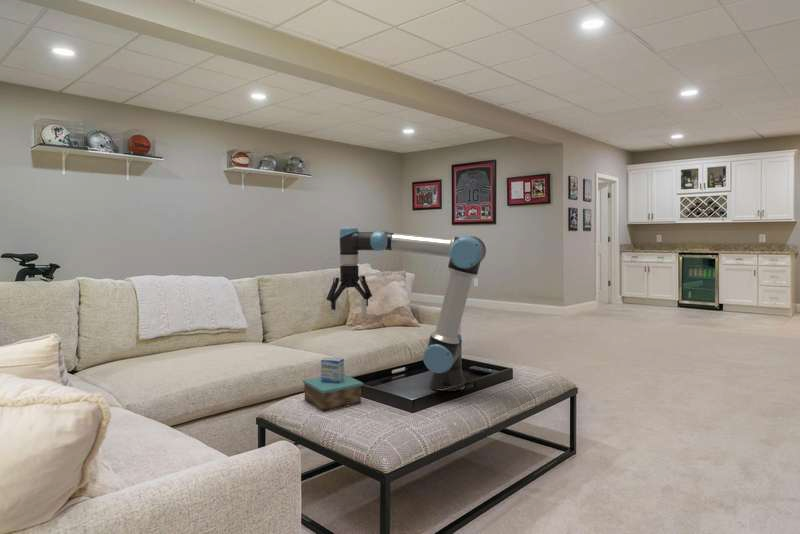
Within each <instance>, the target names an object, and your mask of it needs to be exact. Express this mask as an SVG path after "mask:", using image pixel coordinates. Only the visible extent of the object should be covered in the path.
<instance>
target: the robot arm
mask: <svg viewBox="0 0 800 534" xmlns="http://www.w3.org/2000/svg"><path fill="white" fill-rule="evenodd" d="M359 251H376V252H378V251H379V252H380V251H395V252H401V253H402V252H403V253H412V254H419V255H428V256H438V257H448V258H449V261H448V265H447V269H448V271H450V273H449V277H448V280H447V281H448V282H447V285H446V288H445V293H444V296H443V300H442V303H441V308H440V312H439V317H438V321H437V323H436V328H435V331H433V332H431V333H430V336H429V340H428V343H427V346H426V348H425V349H424V351H423V353H422V360H423V363H424V365H425V367H426V368H427V370H429V371H430V372H432V373H431V378H430V380H429V388H430V387H431V388H434V389H444V388H448V387H452V386H455V385H459V384H462V383H465V382H466V380H465V376H464V372H463V370H462V369H463V368H462V366H463V365H462V361H463V360H462V356H463V355H462V349H463V347H462V345H463V344H462V342H463V341H462V335H461V333H459V330H460V326H461V322H462V318H463V315H464V310H465V308H466V302H467V300H468V296H469V292H470V287H471V284H472V279H473V278H474V277H477V276H478V273H479V269H480V265H481V262H482V261H483V260H484V259H485V257H486V253H487V249H486V245H485V243H484V241H482V239H480V237H477V236H475V235H474V236H472V235H470V236H468V235H465V236H454V237H452V238H446V237H439V236H438V237H437V236H436V237H435V236H427V235H417V234H416V235H415V234H407V233H398V232H388V231H359V228H358V227H356V226H355V227H349V226H348V227H341V228H340V229H339V264H340V266H339V273H340V277H335V276H334V277H333V282H332V285H331V286H330V289H329V291H328V294H327V297H326V301H329V302H330V309H331V311H332V318H333V319H334V318H335V319H339V307H338V305H339V303H338V301H337V300H338V299H339V297H340V296H341V295H342V293H343V292H344V290H346V289H349V288H355V290H356V291H357V293H358V294H360V295H361V297H362V298H361V315H364V316H365V315H367V314H368V313H367V311H368V310H367V309H368V306H369V299H370V298H372V297H373V294H372V292H371V290H370V288H369V285H368V283H367V280H366V276H365V275H359ZM359 282H360V284H361V285H360V284H359ZM339 283H340V284H339ZM431 388H430V389H431Z"/></svg>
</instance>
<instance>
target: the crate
mask: <svg viewBox="0 0 800 534" xmlns="http://www.w3.org/2000/svg"><path fill="white" fill-rule="evenodd" d="M303 384H304V383H303ZM303 389H304V401H306V402H307V403H308V404H310V405H312V406H313V407H315V408H317V409H318V410H320V411H321V412H328V411H332V410H331V409H333V410H336V409H335V408H337V409H340V407H342V408H345V407H344V406H346V407H348V406H347V405H350V406H353V405H352V404H355V405H358V404H357V403H359V404H361V403H362V386H358V387H353V388H348V389H344V390H339V391H334V392H329V393H324V394H323V393H321V392H319V391H317V390H315V389H314V388H312V387H310V386H308V385H306V384H304V388H303Z"/></svg>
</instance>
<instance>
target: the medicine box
mask: <svg viewBox="0 0 800 534" xmlns="http://www.w3.org/2000/svg"><path fill="white" fill-rule="evenodd" d="M344 362H345V358H338V357H337V358H336V357H324V358H322V359H321V360H320V377H321V381H322V382H331V383H341V382H342V381H343V380H344V374H345V365H344V364H345V363H344Z"/></svg>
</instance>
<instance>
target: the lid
mask: <svg viewBox="0 0 800 534" xmlns="http://www.w3.org/2000/svg"><path fill="white" fill-rule="evenodd" d="M302 383H303V384H306V385H308V386H310V387H312V388H314V389H315V390H317V391H319V392H321V393H323V394H324V393H329V392H334V391H339V390H344V389H348V388H353V387H358V386H361V387H362V386H364V382H362V381H360V380H358V379H356V378H354V377H351V376H349V375H347V374H345V373H344V380H343V381H342V382H341V383H331V382H322V381H321V376H319V377H314V378H308V379H304V380H302Z"/></svg>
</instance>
